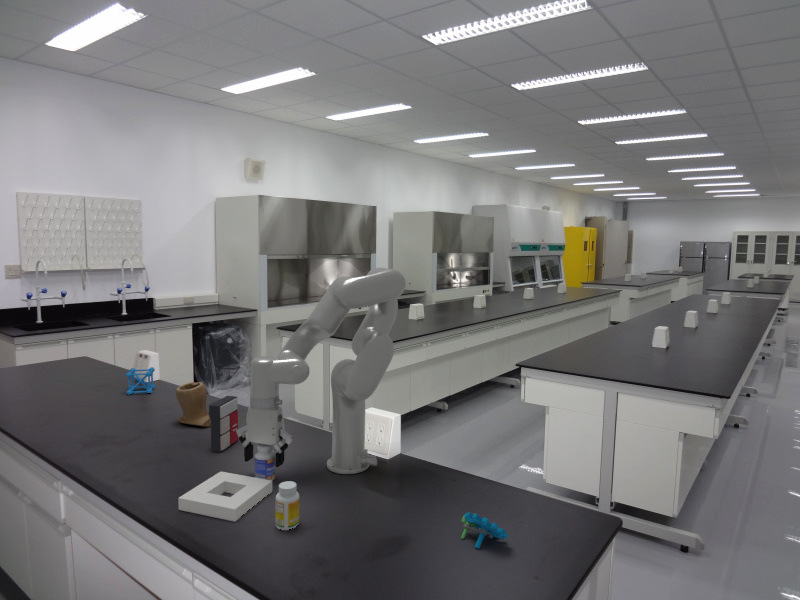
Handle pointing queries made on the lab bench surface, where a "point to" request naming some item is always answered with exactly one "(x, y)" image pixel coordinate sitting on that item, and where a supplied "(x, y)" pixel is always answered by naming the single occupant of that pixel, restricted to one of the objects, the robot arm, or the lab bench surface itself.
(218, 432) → the calculator
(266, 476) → the pill bottle
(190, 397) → the tan hollow piece
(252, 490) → the white square frame
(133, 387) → the molecular structure
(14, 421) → the lab bench surface
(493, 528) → the blue plastic legged piece
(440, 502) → the lab bench surface
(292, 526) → the supplement bottle
